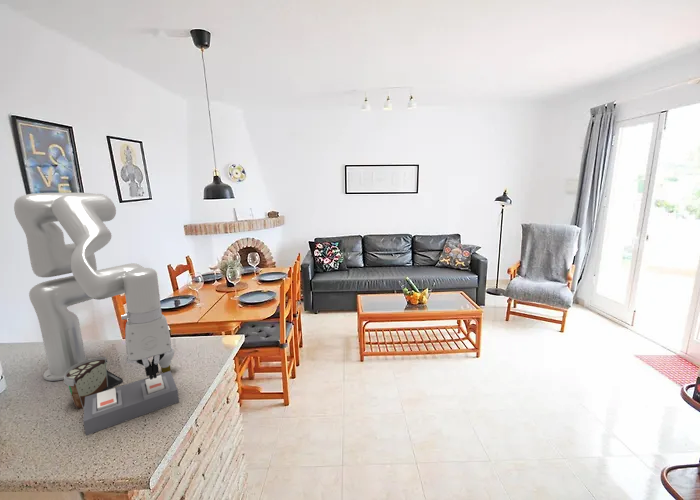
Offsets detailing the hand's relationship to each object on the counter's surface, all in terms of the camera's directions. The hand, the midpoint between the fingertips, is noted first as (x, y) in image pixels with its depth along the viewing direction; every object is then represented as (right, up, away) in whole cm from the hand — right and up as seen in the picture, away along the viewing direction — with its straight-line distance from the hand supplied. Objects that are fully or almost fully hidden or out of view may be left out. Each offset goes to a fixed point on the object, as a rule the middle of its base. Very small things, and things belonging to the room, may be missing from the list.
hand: (152, 376), depth 91 cm
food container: (-23, -9, +5) cm, 25 cm away
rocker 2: (-1, -3, +2) cm, 4 cm away
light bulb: (-6, -6, +18) cm, 20 cm away
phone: (-25, -7, +14) cm, 30 cm away
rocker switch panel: (-6, -9, +2) cm, 11 cm away
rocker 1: (-10, -4, -4) cm, 11 cm away
